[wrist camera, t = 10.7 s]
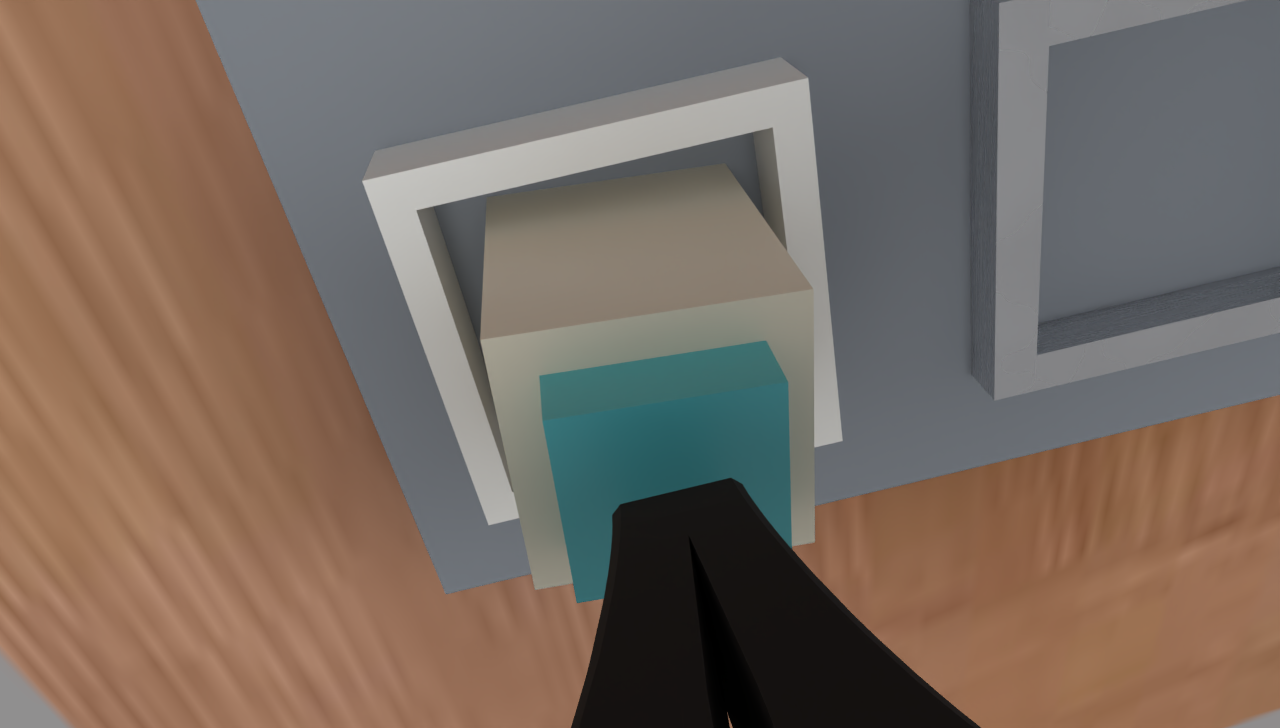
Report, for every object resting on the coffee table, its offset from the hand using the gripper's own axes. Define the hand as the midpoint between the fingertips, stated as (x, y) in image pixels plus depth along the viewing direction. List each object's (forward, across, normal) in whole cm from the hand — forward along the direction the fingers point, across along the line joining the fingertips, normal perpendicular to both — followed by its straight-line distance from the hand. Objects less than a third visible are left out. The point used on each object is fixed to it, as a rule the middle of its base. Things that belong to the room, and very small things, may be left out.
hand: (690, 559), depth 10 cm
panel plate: (+8, -5, 0) cm, 10 cm away
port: (+8, 0, 0) cm, 8 cm away
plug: (+7, 0, 0) cm, 7 cm away
